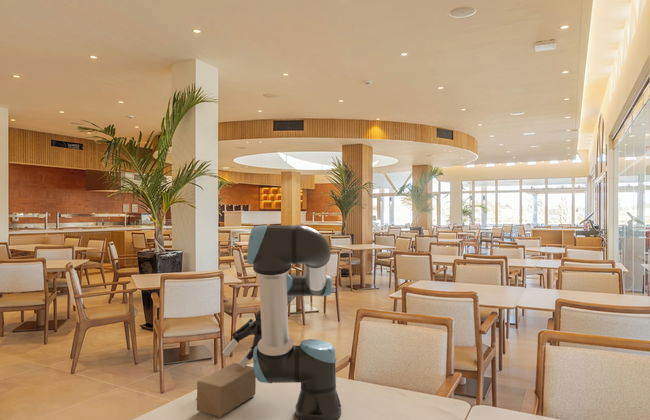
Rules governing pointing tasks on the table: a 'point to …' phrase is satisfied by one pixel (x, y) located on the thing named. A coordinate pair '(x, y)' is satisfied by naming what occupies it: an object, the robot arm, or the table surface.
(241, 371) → the wooden block
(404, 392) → the table surface
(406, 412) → the table surface
